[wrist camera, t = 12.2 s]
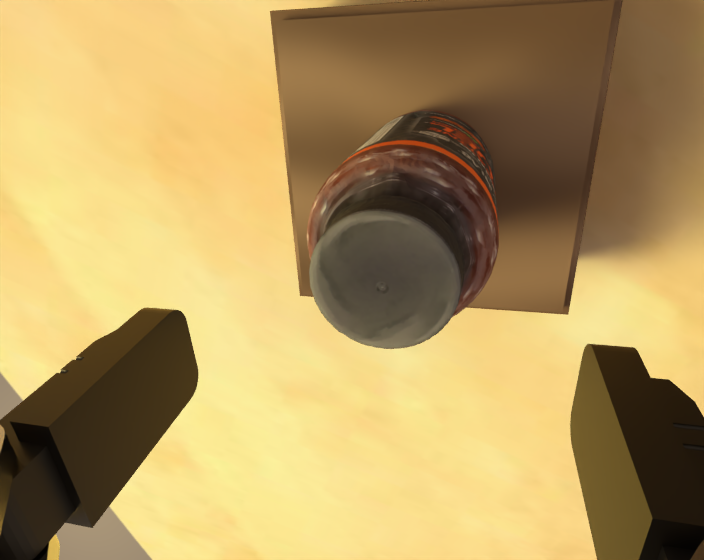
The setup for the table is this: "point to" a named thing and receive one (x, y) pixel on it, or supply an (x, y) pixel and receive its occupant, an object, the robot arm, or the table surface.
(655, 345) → the table surface
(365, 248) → the supplement bottle
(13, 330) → the table surface
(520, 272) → the walnut block
